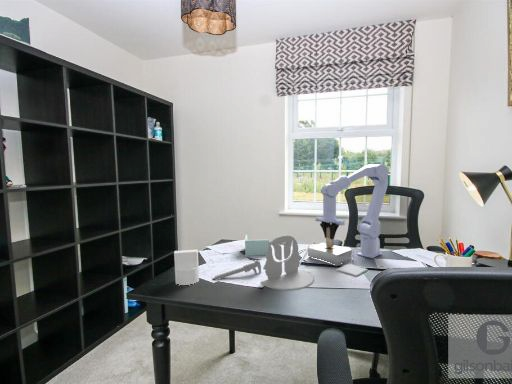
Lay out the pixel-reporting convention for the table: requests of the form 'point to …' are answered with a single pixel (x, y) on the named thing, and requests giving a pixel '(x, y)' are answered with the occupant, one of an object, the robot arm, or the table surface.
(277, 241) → the ornament
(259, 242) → the l-shaped corner panel
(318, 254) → the guard box
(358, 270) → the pad
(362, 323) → the table surface
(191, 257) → the white rounded upright block
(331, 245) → the long tan rectangular block
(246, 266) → the caliper
